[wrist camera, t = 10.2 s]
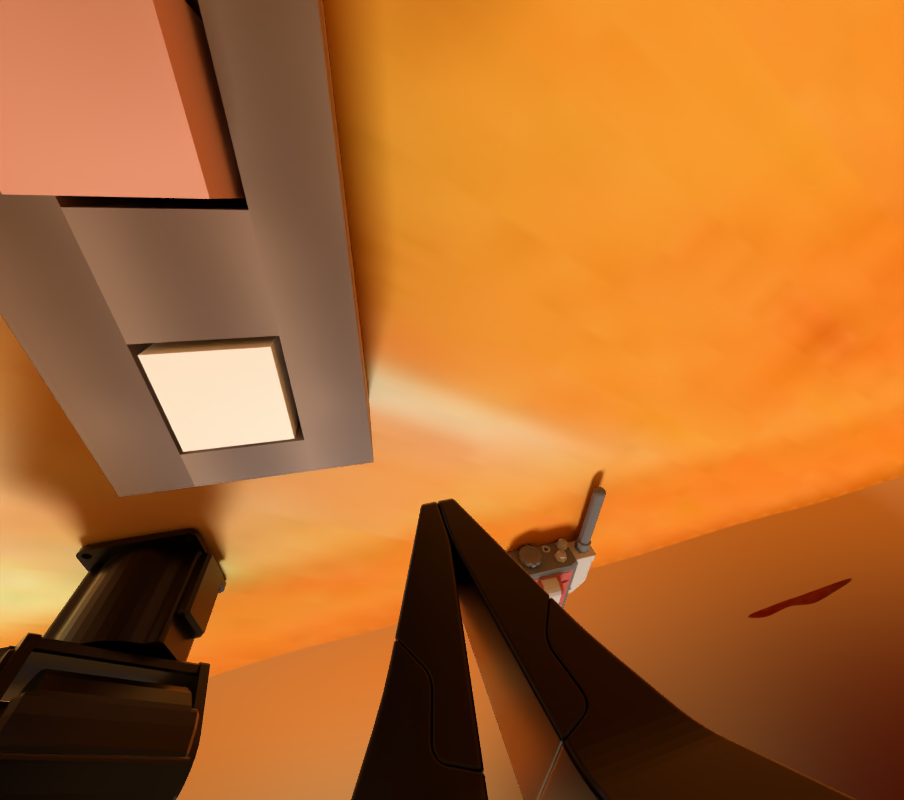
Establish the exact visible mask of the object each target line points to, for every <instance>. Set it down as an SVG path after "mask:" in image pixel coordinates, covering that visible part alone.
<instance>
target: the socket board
mask: <svg viewBox="0 0 904 800" xmlns="http://www.w3.org/2000/svg"><path fill="white" fill-rule="evenodd" d="M185 1H186V2H187V4H188V5H189V6H190V7H191V8H192V9H193V10H194V12H195V13H196V14H197V15H198V16H199V17H200V19H201V20H202V21H203V23H204V28H205V32H206V36H207V40H208V44H209V48H210V52H211V56H212V61H213V65H214V69H215V73H216V77H217V81H218V85H219V89H220V94H221V98H222V102H223V106H224V110H225V114H226V118H227V122H228V127H229V131H230V135H231V139H232V143H233V147H234V151H235V156H236V160H237V164H238V168H239V172H240V176H241V180H242V184H243V189H244V193H245V197H246V201H247V205H233V204H178V203H163V200H162V198H149V197H102V196H55V195H7V194H1V192H0V314H1V316H2V317H3V319H4V320H5V322H6V323H7V325H8V326H9V328H10V329H11V331H12V333H13V334H14V336H15V337H16V339H17V340H18V342H19V343H20V345H21V346H22V348H23V350H24V351H25V353H26V354H27V356H28V357H29V359H30V360H31V362H32V363H33V365H34V367H35V368H36V370H37V371H38V373H39V374H40V376H41V377H42V379H43V380H44V382H45V383H46V385H47V387H48V388H49V390H50V391H51V393H52V394H53V396H54V397H55V399H56V400H57V402H58V404H59V405H60V407H61V408H62V410H63V411H64V413H65V414H66V416H67V417H68V419H69V421H70V422H71V424H72V425H73V427H74V428H75V430H76V431H77V433H78V434H79V436H80V438H81V439H82V441H83V442H84V444H85V445H86V447H87V448H88V450H89V451H90V453H91V455H92V456H93V458H94V459H95V461H96V462H97V464H98V465H99V467H100V468H101V470H102V472H103V473H104V475H105V476H106V478H107V479H108V481H109V482H110V484H111V485H112V487H113V488H114V490H115V492H116V493H117V495H118V496H119V497H125V496H132V495H139V494H147V493H154V492H161V491H168V490H176V489H183V488H190V487H197V486H205V485H212V484H219V483H226V482H234V481H241V480H248V479H255V478H262V477H270V476H277V475H284V474H291V473H299V472H306V471H313V470H320V469H328V468H335V467H342V466H349V465H357V464H364V463H371V462H373V448H372V434H371V421H370V407H369V395H368V387H367V378H366V369H365V361H364V352H363V343H362V335H361V326H360V318H359V309H358V300H357V292H356V283H355V274H354V266H353V257H352V249H351V240H350V231H349V223H348V214H347V206H346V197H345V188H344V180H343V171H342V162H341V154H340V145H339V137H338V128H337V119H336V111H335V102H334V93H333V85H332V76H331V68H330V59H329V50H328V42H327V33H326V25H325V16H324V7H323V0H185ZM266 336H279V337H280V341H281V345H282V349H283V354H284V358H285V362H286V366H287V370H288V374H289V378H290V383H291V387H292V391H293V395H294V399H295V403H296V407H297V411H298V416H299V422H298V427H297V431H296V435H295V439H288V440H279V441H271V442H262V443H254V444H246V445H237V446H229V447H220V448H212V449H203V450H195V451H186V452H183V450H182V448H181V446H180V444H179V442H178V440H177V438H176V435H175V433H174V431H173V429H172V427H171V425H170V423H169V421H168V419H167V416H166V414H165V412H164V410H163V408H162V406H161V404H160V402H159V400H158V397H157V395H156V393H155V391H154V389H153V387H152V385H151V383H150V381H149V378H148V376H147V374H146V372H145V370H144V368H143V366H142V364H141V362H140V359H139V357H138V355H139V354H140V353H141V352H143V351H144V350H145V349H147V348H148V347H149V346H151V345H152V344H154V343H161V342H179V341H196V340H214V339H231V338H248V337H266Z"/></svg>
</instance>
